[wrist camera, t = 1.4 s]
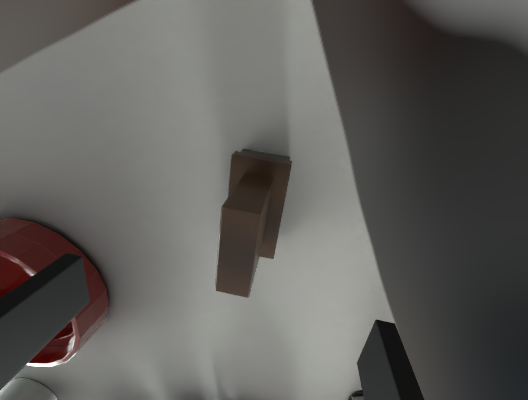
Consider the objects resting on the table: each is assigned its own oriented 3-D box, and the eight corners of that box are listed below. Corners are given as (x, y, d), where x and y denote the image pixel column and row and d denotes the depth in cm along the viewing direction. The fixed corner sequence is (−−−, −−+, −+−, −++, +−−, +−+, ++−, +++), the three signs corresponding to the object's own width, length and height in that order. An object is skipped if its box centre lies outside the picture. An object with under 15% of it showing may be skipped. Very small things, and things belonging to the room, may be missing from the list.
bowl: (-44, 202, 29) (-109, 223, 24) (103, 232, 27) (63, 261, 23) (0, 314, 36) (-44, 347, 31) (118, 342, 34) (90, 381, 30)
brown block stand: (240, 145, 22) (202, 181, 13) (293, 155, 21) (286, 197, 13) (231, 231, 25) (197, 301, 17) (276, 240, 25) (263, 316, 17)
